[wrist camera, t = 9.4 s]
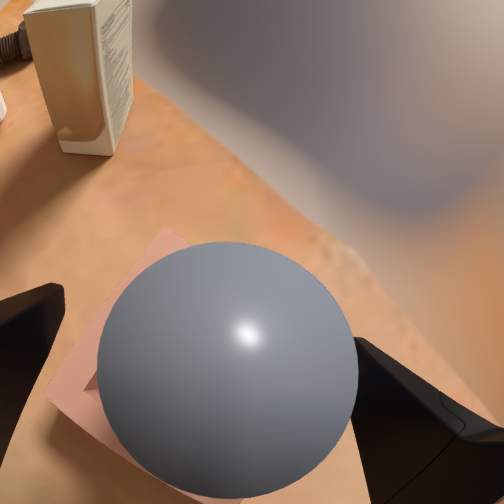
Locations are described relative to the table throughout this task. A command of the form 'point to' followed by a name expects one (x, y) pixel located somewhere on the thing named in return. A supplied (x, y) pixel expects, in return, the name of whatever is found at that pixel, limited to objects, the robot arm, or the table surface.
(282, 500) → the table surface
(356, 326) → the table surface
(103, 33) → the skincare box
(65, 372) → the tray
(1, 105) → the photo printer
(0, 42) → the bolt
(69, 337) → the table surface
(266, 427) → the grey dome-topped post
